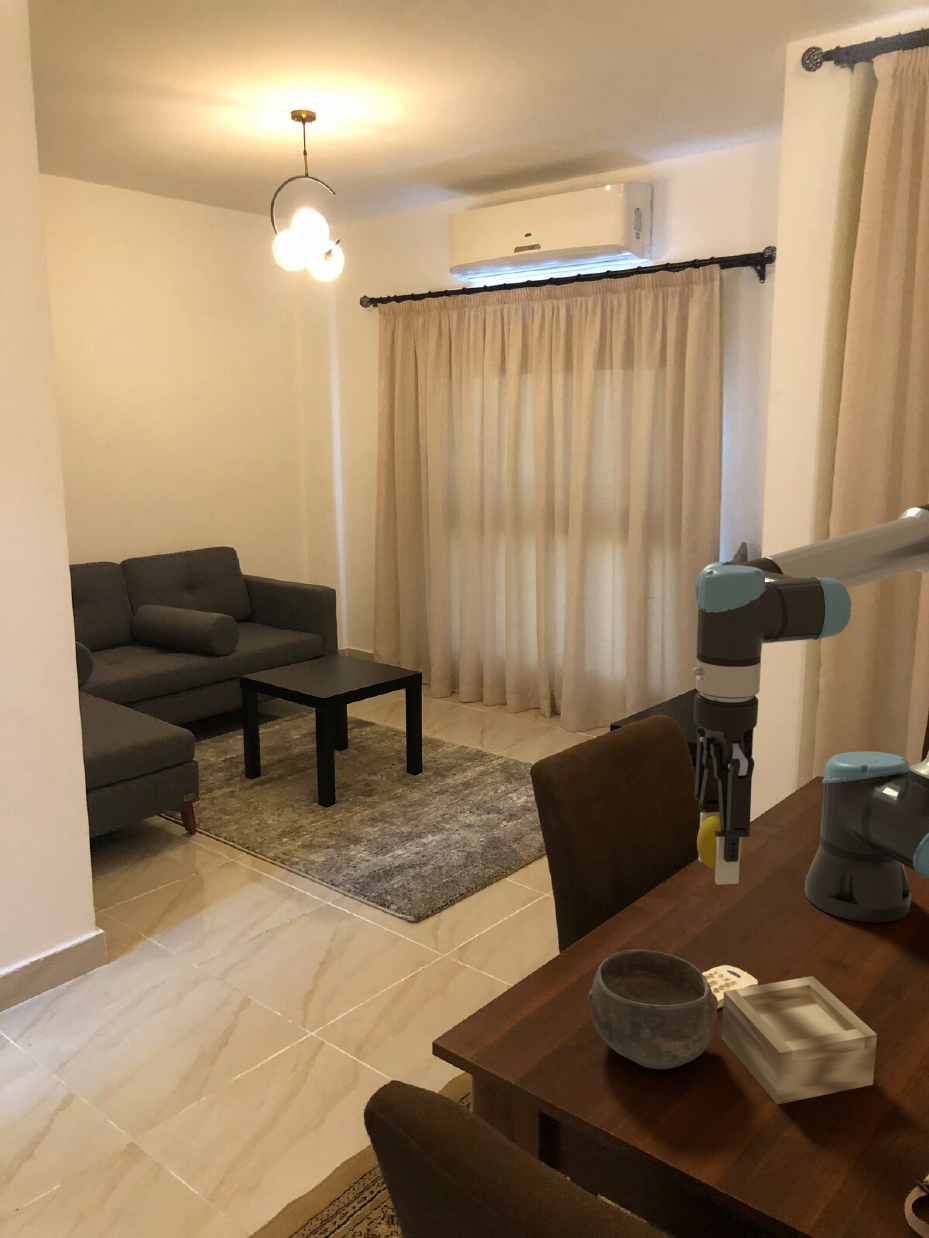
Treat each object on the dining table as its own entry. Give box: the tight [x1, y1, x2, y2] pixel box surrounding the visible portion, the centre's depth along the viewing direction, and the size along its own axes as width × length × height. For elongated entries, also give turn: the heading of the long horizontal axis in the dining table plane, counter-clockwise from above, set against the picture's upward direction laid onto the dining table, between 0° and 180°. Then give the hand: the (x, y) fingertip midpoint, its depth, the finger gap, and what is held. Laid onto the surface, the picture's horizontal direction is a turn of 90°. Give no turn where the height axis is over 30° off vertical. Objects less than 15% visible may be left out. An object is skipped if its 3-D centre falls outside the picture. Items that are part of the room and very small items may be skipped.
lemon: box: [696, 813, 743, 872], centre depth 122 cm, size 6×6×8 cm
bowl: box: [587, 949, 719, 1070], centre depth 114 cm, size 14×15×10 cm
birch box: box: [721, 975, 878, 1105], centre depth 112 cm, size 12×12×6 cm
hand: (717, 870), depth 123 cm, fingers closed on lemon, 5 cm apart
